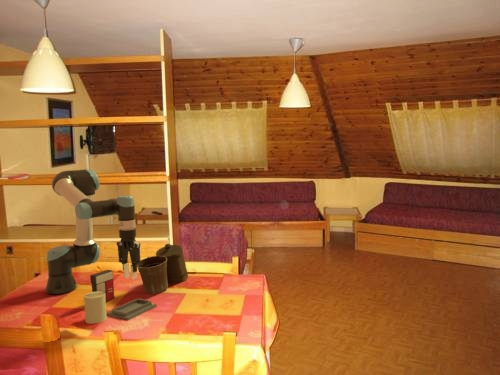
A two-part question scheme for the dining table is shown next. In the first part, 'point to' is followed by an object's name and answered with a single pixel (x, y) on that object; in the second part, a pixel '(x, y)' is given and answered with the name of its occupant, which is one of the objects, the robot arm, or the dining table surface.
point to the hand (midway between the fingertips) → (130, 277)
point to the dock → (132, 309)
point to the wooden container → (174, 263)
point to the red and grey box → (103, 283)
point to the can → (95, 307)
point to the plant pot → (153, 274)
